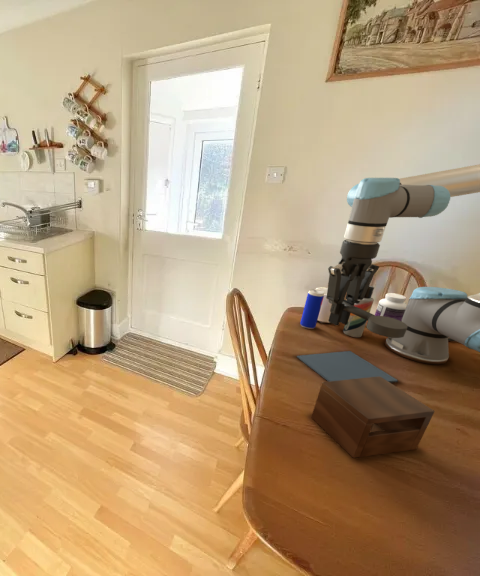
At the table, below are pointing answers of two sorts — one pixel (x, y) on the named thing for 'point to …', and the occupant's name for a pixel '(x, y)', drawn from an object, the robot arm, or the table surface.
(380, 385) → the wooden box
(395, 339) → the robot arm
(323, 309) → the cup
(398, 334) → the small frying pan
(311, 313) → the beverage can
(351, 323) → the lotion bottle
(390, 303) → the pill bottle
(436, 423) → the table surface
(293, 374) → the table surface
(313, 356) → the mat
